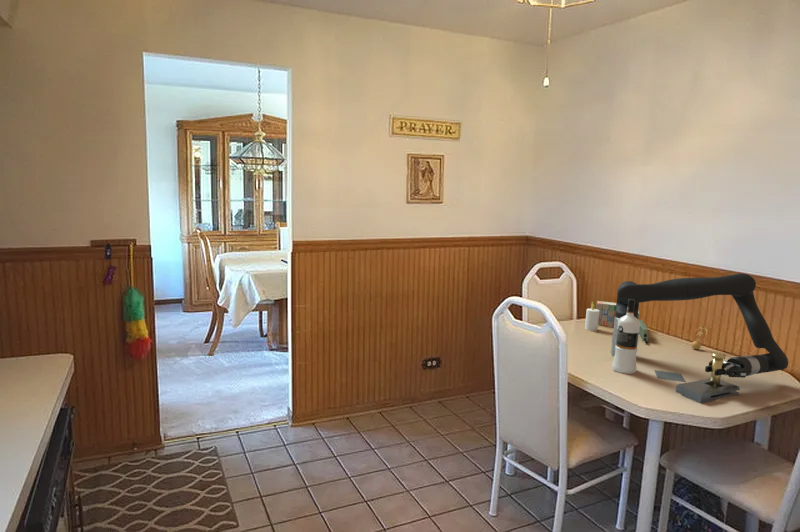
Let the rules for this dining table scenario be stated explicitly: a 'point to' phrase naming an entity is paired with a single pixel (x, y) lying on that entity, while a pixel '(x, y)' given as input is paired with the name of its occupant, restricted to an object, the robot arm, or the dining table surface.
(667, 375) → the rubber mat
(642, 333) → the handheld radio
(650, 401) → the dining table surface
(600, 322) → the stack of blocks
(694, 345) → the figurine
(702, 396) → the slotted grey base plate
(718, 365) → the brass pin
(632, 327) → the vodka
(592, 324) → the candle
